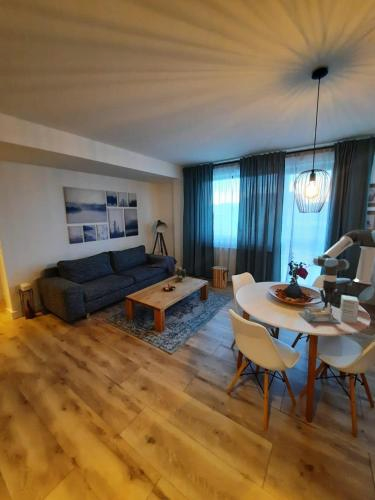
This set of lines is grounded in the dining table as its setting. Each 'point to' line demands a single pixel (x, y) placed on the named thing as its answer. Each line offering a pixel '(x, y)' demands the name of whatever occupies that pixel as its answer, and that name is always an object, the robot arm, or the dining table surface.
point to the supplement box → (349, 309)
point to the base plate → (317, 317)
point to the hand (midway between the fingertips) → (327, 311)
